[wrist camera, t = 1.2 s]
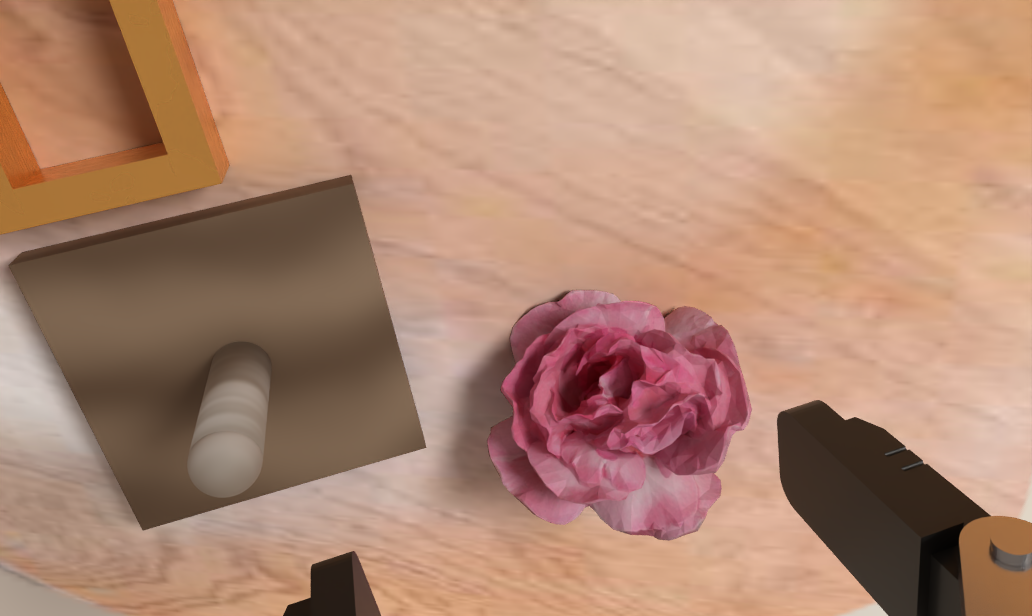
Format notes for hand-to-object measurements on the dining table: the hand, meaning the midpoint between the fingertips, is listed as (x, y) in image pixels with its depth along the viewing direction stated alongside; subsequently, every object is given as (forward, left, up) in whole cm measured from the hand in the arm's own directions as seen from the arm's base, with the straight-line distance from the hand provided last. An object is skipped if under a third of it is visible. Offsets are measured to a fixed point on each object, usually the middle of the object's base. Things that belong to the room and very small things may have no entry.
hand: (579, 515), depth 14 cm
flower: (+10, +6, -22) cm, 25 cm away
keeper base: (+5, -9, -21) cm, 24 cm away
